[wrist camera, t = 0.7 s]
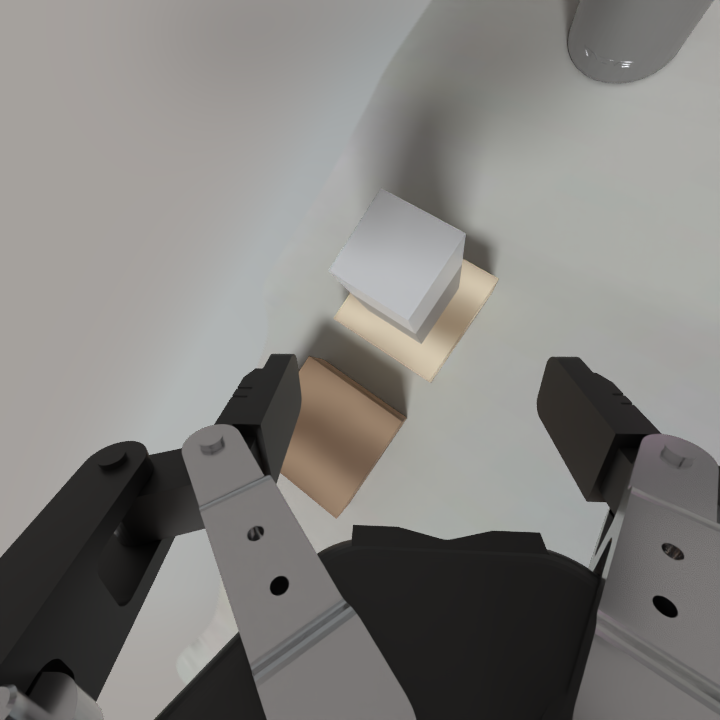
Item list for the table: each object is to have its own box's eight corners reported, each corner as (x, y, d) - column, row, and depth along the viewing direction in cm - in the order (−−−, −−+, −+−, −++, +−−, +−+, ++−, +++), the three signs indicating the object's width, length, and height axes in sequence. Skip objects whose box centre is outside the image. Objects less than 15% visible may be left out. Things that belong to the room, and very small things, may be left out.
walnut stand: (323, 359, 36) (309, 356, 33) (407, 417, 34) (402, 421, 30) (270, 441, 37) (249, 447, 33) (348, 504, 35) (336, 518, 31)
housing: (403, 256, 31) (380, 187, 21) (458, 288, 30) (465, 233, 19) (367, 310, 32) (328, 270, 21) (421, 344, 30) (407, 320, 20)
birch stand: (401, 239, 36) (396, 221, 32) (492, 291, 33) (498, 278, 29) (345, 325, 36) (333, 318, 32) (431, 382, 34) (429, 381, 30)
